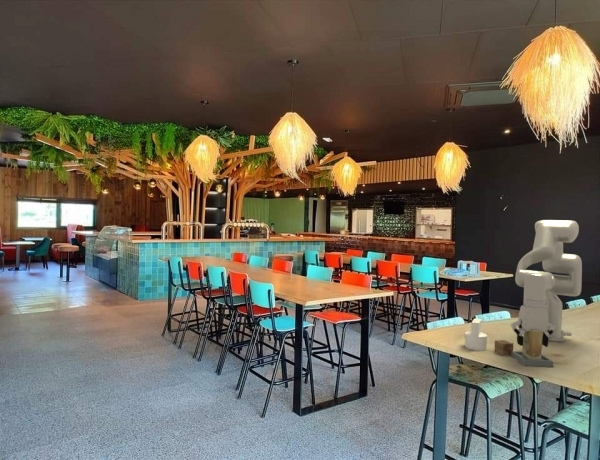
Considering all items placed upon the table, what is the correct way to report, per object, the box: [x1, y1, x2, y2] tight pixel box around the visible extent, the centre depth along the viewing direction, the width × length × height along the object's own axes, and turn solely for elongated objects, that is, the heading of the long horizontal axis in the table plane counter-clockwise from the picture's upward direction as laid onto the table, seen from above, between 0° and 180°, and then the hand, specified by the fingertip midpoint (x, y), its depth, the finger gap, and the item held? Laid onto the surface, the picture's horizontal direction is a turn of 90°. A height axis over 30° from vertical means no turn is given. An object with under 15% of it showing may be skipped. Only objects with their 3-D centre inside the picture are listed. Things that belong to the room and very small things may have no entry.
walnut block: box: [493, 339, 514, 357], centre depth 171 cm, size 5×5×5 cm
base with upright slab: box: [464, 318, 488, 351], centre depth 179 cm, size 9×9×12 cm
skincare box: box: [521, 330, 543, 360], centre depth 162 cm, size 6×4×12 cm
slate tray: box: [510, 350, 554, 368], centre depth 162 cm, size 11×11×2 cm
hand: (532, 345), depth 162 cm, fingers open, 9 cm apart
